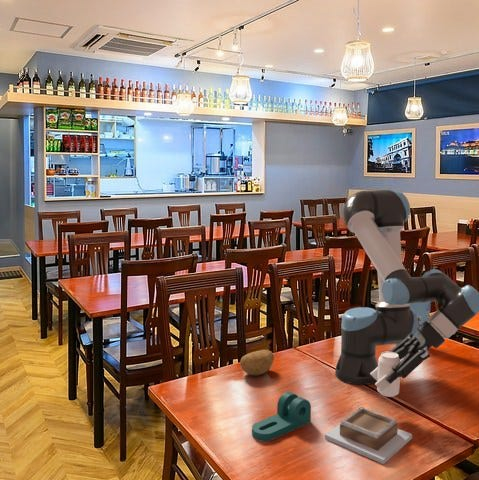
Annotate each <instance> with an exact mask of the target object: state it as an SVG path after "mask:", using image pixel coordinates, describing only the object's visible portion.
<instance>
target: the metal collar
mask: <svg viewBox="0 0 479 480" xmlns="http://www.w3.org/2000/svg"><path fill="white" fill-rule="evenodd" d="M362 412H363V413H366V414H368V415H371V416H374V417H377V418H379V419H382V420H385V421H387V422H389V423H388V424H387V425H386V426H384V427H383V428H382V429H381V430H379V431H378V432H377V433H375V432H372V431H370V430H367V429H365V428H362V427H360V426H357V425H355V424H352V423H349V421H351V420H352V419H354V418H355V417H356V416H358V415H359V414H361V413H362ZM397 423H398V421H397V419H396V418H393V417H391V416H387V415H385V414H382V413H380V412H377V411H373V410H371V409H368V408H365V407H363V406H361V407H359V408H358V409H356V410H355V411H353V412H352V413H351V414H349V415H348V416H346V417H344V418H343V419H341V421H340V424H341V425H344V426H346V427H349V428H351V429H354V430H356V431H359V432H361V433H363V434H366V435H368V436H371V437H373V438H376V439H378V438H380V437H381V436H382V435H383V434H384V433H386V432H387V431H388V430H389V429H390V428H392V427H393V426H394V425H395V424H397Z"/></svg>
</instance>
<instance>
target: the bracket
mask: <svg viewBox="0 0 479 480" xmlns="http://www.w3.org/2000/svg"><path fill="white" fill-rule="evenodd" d="M276 405H277V407H276V411H277V413H276V414H273V415H271V416H269V417H265V418H263V419H262V420H260V421H257V422H255V423H253V424H252V426H251V436H252V438H253V439H255V440H256V441H260V442H269V441H273V440H275V439H277V438H280V437H281V436H284V435H286V434H289V433H290V432H292V431H293V432H294V431H295V430H297V429H299V428H302V427H303V426H305V425H308V424H310V423H311V421H312V419H311V418H312V404H311V402H310V401H309V400H307V399H306V398H303V397H302V396H298V395H297V394H296V393H294V392H292V391H285V392H283V393H282V394H281V395H280V397H279V398H278V400H277V404H276Z"/></svg>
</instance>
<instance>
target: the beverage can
mask: <svg viewBox="0 0 479 480" xmlns="http://www.w3.org/2000/svg"><path fill="white" fill-rule="evenodd" d="M389 351H390V350H389ZM389 351H383V352H381V353H380V356H379V357H378V360H377V363H378V380H377V381H379V380H380V379H381V378H382V377H383V376H384V375H386V374H387V373H388V372H389V371H390V370H391V369H392V367H393V368H396V367H397V366H398V364H399V363H400V362H401V361H402V360H400V359H399V355H398V354H397V353H394V352H389ZM400 380H401V377H398V378H397V379H396V380H395V381H393V382H392V383H391V384H390V385H389V386H388V387H386V388H385V389H384V390H383V391H381V390H380V389H379V388H378V387H377V386H376V387H377V388H376V390H377V392H378V393H379V394H380V395H382V396H383V397H388V398H392V397H396V396H398V395H399V393H400V382H401V381H400Z"/></svg>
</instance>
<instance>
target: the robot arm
mask: <svg viewBox="0 0 479 480" xmlns="http://www.w3.org/2000/svg"><path fill="white" fill-rule="evenodd" d="M342 211H343V212H342V215H343V221H344V224H345V226H346V227H347V229H348V231H349V232H351V233H352V234H354V235H355V237H356V238H357V240H358V242H359V243H360V245H361V247H362V248H363V250H364V252H365V253H366V255H367V256H368V258H369V259H370V262H371V263H372V264H373V267H374V268H375V270H376V271H377V283H378V285H377V286H378V296H379V297H378V298H379V301H378V302H377V303H376V304H375V308H372V307H362V306H360V307H354V308H353V307H352V308H350V309H348V310H346V311H345V312H344V313H343V314H342V317H341V323H340V324H341V325H340V327H341V342H340V344H341V345H340V346H341V348H340V349H341V350H340V355H339V358H338V361H337V362H336V366H335V376H336V378H337V379H339V380H340V381H343V382H345V383H349V384H354V385H371V384H374V385H375V386H376V387H378V388H379V389H380V390H381V391H383V390H384V389H385V388H386V387H388V386H389V385H390V384H391V383H392V382H393V381H395V380H396V379H397V378H398V377H400V378H402V379H406V378H407V377H408V376H409V375H410V374H411V373H412V372H413V371H414V370H416V368H418V367H419V366H420V365H421V364H422V363H423V362H424V361H426V360H427V359H429V358H430V357H431V354H430V353H429V352H428V351H429V350H430V349H431V348H432V347H433V348H434V349H438V348H439V347H440V346H441V345H442V344H444V343H445V341H446V339H449V338H450V337H451V336H453V335H455V334H456V332H457V331H459V330H460V329H461V328H462V327H463V326H464V325H465V324H467V323H468V322H469V321H471V319H473V318H474V317H475V316H477V315H478V314H479V291H478V290H477V289H475V288H474V287H473V286H471V285H470V284H467V285H464V286H463V287H460V286H459V285H458V284H457V283H456V282H455V281H453V280H452V278H450V277H449V276H448V275H447V274H445V273H444V272H443V271H440V270H439V269H436V268H435V269H433V268H432V269H430V270H429V271H426V272H424V273H423V275H422V276H417V277H416V276H415V277H412V276H411V275H410V273H409V272H408V270H407V269H406V268H405V266H404V264H403V256H402V242H401V231H402V230H403V229H404V228H405V222H407V221H408V220H409V218H410V215H411V206H410V202H409V199H408V197H407V196H406V195H405V194H404V193H403V192H402V191H399V190H391V189H386V190H382V189H381V190H360V191H357V192H355V193H353V194H352V195H351V196H349V198H348V199H346V201H345V204H344V207H343V210H342ZM420 302H431V303H432V302H437V303H438V304H439V305H440V308H438V309H436V311H435V312H433V314H430V317H429V318H428V320H429V321H428V322H427V321H426V322H423V323H422V324H421V325H420V326H419V323H418V317H417V316H416V313H415V312H414V311H413V310H412V309H410V304H409V303H420ZM418 326H419V327H418ZM418 331H419V332H420V333H418V334H417V332H418ZM416 334H417V335H416ZM395 344H396V345H395ZM385 345H386V346H387V345H395V346H394V347H392V349H391V350H389V352H394V353H397V354H398V355H399V359H400V361H401V362H400V363H399V364H398V366H397V367H396V368H393V367H392V369H391V370H390V371H389V372H388V373H387V374H386V375H384V376H383V377H382V378H381V379H380V380H379V381H377V380H378V360H377V356H376V349H377V347H378V346H385Z"/></svg>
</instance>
